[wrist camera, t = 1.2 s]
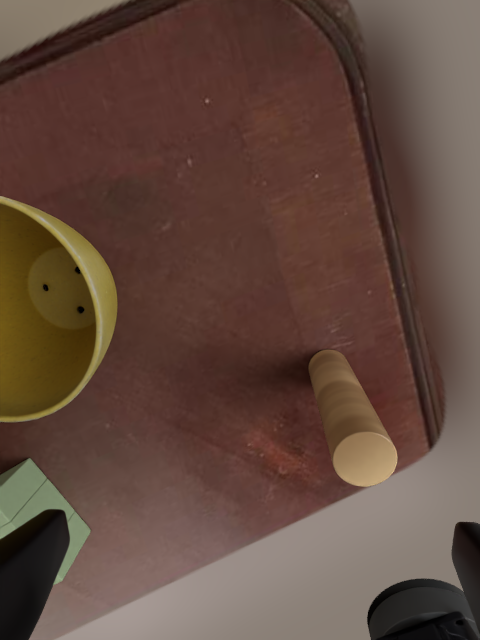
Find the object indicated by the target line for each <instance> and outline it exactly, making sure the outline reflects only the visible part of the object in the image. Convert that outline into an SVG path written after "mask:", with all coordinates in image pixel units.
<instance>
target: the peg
mask: <svg viewBox="0 0 480 640" xmlns="http://www.w3.org/2000/svg"><path fill="white" fill-rule="evenodd" d="M309 374H310V378H311V382H312V386H313V390H314V394H315V397H316V401H317V405H318V409H319V413H320V417H321V420H322V424H323V428H324V432H325V436H326V440H327V444H328V447H329V451H330V455H331V459H332V463H333V466H334V469H335V471H336V473H337V474H338V475H339V476H340V477H341V478H342V479H343V480H344V481H346V482H348V483H350V484H352V485H356V486H372V485H376V484H379V483H381V482H383V481H384V480H386V479H387V478H388V477H389V476H390V475H391V474H392V473H393V471H394V470H395V468H396V465H397V451H396V448H395V446H394V445H393V443H392V441H391V439H390V437H389V436H388V434H387V432H386V430H385V428H384V427H383V425H382V423H381V421H380V419H379V417H378V416H377V414H376V412H375V410H374V408H373V407H372V405H371V403H370V401H369V399H368V398H367V396H366V394H365V392H364V390H363V389H362V387H361V385H360V383H359V381H358V380H357V378H356V376H355V374H354V372H353V370H352V369H351V367H350V365H349V363H348V361H347V360H346V358H345V357H344V356H343V355H342V354H341V353H340V352H338V351H335V350H323V351H320V352H318V353H317V354H315V355H314V356H313V357H312V359H311V360H310V363H309Z"/></svg>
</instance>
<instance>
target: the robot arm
mask: <svg viewBox="0 0 480 640" xmlns="http://www.w3.org/2000/svg"><path fill="white" fill-rule="evenodd" d="M69 544H70V533H69V528H68V523H67V518H66V513H65V512H64V510H61V509H47V510H44V511H43V512H41V513H40V514H38V515H36V516H35V517H33V518H32V519H30V520H29V521H27V522H26V523H24V524H23V525H21V526H20V527H18V528H17V529H15V530H14V531H12V532H11V533H9V534H7V535H6V536H4V537H3V538H1V539H0V640H29V638H30V636H31V634H32V632H33V630H34V628H35V626H36V624H37V622H38V620H39V617H40V615H41V613H42V611H43V608H44V606H45V604H46V601H47V599H48V596H49V594H50V591H51V589H52V587H53V584H54V582H55V579H56V577H57V575H58V572H59V570H60V567H61V565H62V562H63V560H64V558H65V555H66V553H67V550H68V548H69ZM452 560H453V563H454V566H455V569H456V572H457V575H458V577H459V580H460V583H461V585H462V588H463V591H464V593H465V596H466V599H467V601H468V604H469V607H470V609H471V612H472V615H473V618H474V620H475V623H476V626H477V628H478V631H479V634H480V524H478V523H474V522H458V523H457V524H456V526H455V531H454V538H453V546H452ZM375 640H479V638H478V637H477V635H476V633H475V632H474V630H473V629H472V627H471V625H470V624H469V622H468V621H467V619H466V617H465V616H464V614H463V613H462V612H459V611H454V612H451V613H448V614H445V615H442V616H440V617H437V618H434V619H431V620H428V621H425V622H422V623H420V624H417V625H414V626H411V627H408V628H405V629H402V630H400V631H397V632H394V633H391V634H388V635H385V636H383V637H380V638H377V639H375Z"/></svg>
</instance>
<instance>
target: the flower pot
mask: <svg viewBox="0 0 480 640" xmlns="http://www.w3.org/2000/svg"><path fill="white" fill-rule="evenodd" d="M76 267H79V269H80V271H81V273H80V274H78V273H77V272H76ZM44 284H46V285H47V286H48V291H45V290H44V288H43V286H44ZM79 306H80V307H83V308H84V312H83V313H80V312H79V310H78V307H79ZM116 318H117V293H116V287H115V283H114V279H113V277H112V274H111V272H110V270H109V268H108V266H107V264H106V262H105V261H104V259H103V258H102V256H101V255H100V254H99V252H98V251H97V250H96V249H95V248H94V247H93V246H92V245H91V244H90V243H89V242H88V241H87V240H86V239H85V238H84V237H83V236H82V235H80V234H79V233H78V232H77V231H75V230H74V229H73V228H71V227H70V226H68V225H67V224H65V223H63V222H62V221H60V220H58V219H57V218H55V217H53V216H51V215H49V214H47V213H45V212H43V211H41V210H39V209H36V208H34V207H31V206H29V205H26V204H24V203H21V202H18V201H15V200H12V199H9V198H5V197H2V196H0V422H23V421H29V420H33V419H38V418H41V417H44V416H46V415H49V414H51V413H54V412H55V411H57V410H59V409H61V408H62V407H64V406H65V405H66V404H68V403H69V402H71V401H72V400H73V399H74V398H75V397H76V396H77V395H78V394H79V393H80V392H81V391H82V389H83V388H84V387H85V385H86V384H87V383H88V382H89V380H90V379H91V377H92V376H93V374H94V373H95V371H96V370H97V368H98V366H99V365H100V363H101V361H102V359H103V357H104V355H105V353H106V351H107V349H108V346H109V344H110V341H111V339H112V335H113V332H114V328H115V323H116Z"/></svg>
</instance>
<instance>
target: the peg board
mask: <svg viewBox="0 0 480 640" xmlns="http://www.w3.org/2000/svg"><path fill="white" fill-rule="evenodd" d="M47 509H61V510H64V512H65V513H66V518H67V523H68V528H69V533H70V544H69V548H68V550H67V553H66V555H65V558H64V560H63V562H62V565H61V567H60V570H59V572H58V575H57V577H56V579H55V582H54V584H53V585H55V584H57V583H59V582H61V581H62V580H63V579H64V577H65V575H66V574H67V572H68V570H69V568H70V567H71V565H72V563H73V561H74V560H75V558H76V556H77V554H78V553H79V551H80V549H81V548H82V546H83V544H84V542H85V541H86V539H87V537H88V535H89V534H90V532H91V529H90V528H89V527H88V526H87V525H86V524H85V522H84V521H83V520H82V519H81V518H80V516H79V515H78V514H77V513H76V512H74V511H75V510H74V509H73V508H72V507H71V505H70V504H69V503H68V502H67V501H66V500H65V498H64V497H63V496H62V495H61V494H60V492H59V491H58V490H57V489H56V488H55V486H54V485H53V484H52V483H51V482H50V481H49V479H47V477H46V476H45V475H44V474H43V473H42V471H41V470H40V469H39V468H38V467H37V466H36V464H35V463H34V462H33V461H32V460H31V458H28V459H27V460H25V461H23V462H22V463H20V464H18V465H16V466H15V467H13V468H11V469H10V470H8V471H6V472H4V473H3V474H1V475H0V539H1V538H3V537H4V536H6V535H7V534H9V533H11V532H12V531H14V530H15V529H17V528H18V527H20V526H21V525H23V524H24V523H26V522H27V521H29V520H30V519H32V518H33V517H35V516H36V515H38V514H40V513H41V512H43V511H44V510H47Z"/></svg>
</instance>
